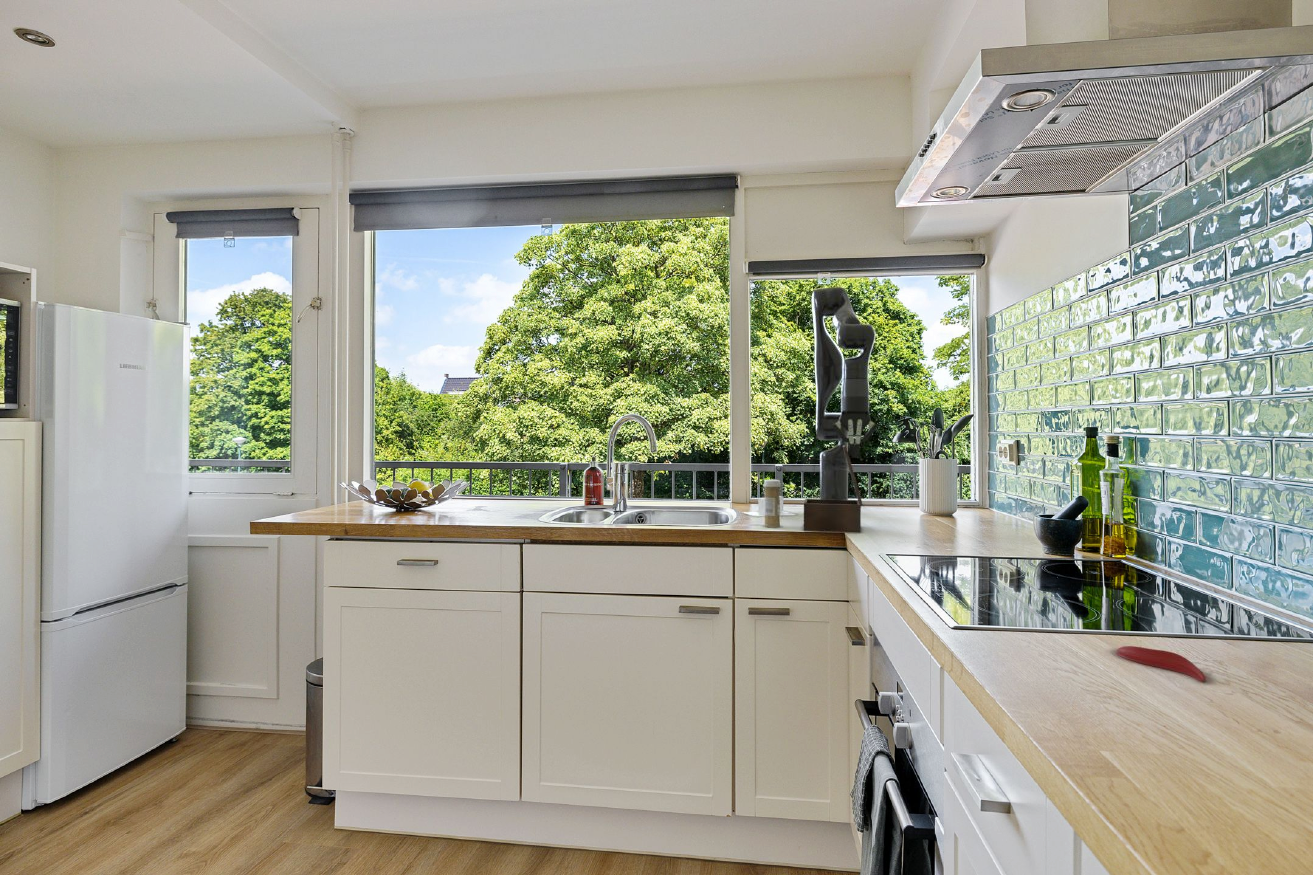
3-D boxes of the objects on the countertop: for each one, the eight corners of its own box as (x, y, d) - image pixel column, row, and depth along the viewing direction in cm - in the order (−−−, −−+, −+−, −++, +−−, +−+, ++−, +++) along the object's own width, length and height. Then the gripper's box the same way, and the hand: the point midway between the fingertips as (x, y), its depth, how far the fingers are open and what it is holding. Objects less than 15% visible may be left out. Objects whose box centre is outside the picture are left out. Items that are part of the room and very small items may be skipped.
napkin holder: (781, 510, 251) (781, 494, 251) (797, 514, 240) (797, 497, 240) (741, 512, 247) (741, 495, 246) (755, 516, 236) (755, 498, 236)
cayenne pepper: (1220, 681, 85) (1220, 664, 85) (1184, 683, 85) (1185, 666, 85) (1139, 649, 97) (1139, 635, 97) (1107, 651, 97) (1108, 636, 97)
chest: (803, 530, 205) (803, 503, 204) (805, 524, 217) (805, 498, 217) (860, 532, 201) (860, 504, 201) (858, 526, 214) (858, 500, 214)
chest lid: (843, 446, 202) (846, 446, 202) (842, 445, 215) (845, 444, 214) (859, 503, 201) (862, 502, 201) (857, 498, 214) (860, 498, 214)
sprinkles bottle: (783, 526, 212) (783, 480, 212) (771, 527, 210) (771, 480, 210) (772, 524, 216) (772, 478, 216) (760, 526, 214) (761, 479, 213)
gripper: (878, 396, 209) (878, 457, 210) (830, 396, 212) (830, 456, 213) (880, 395, 202) (880, 458, 202) (830, 395, 205) (830, 457, 205)
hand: (854, 457), depth 208 cm, fingers closed
